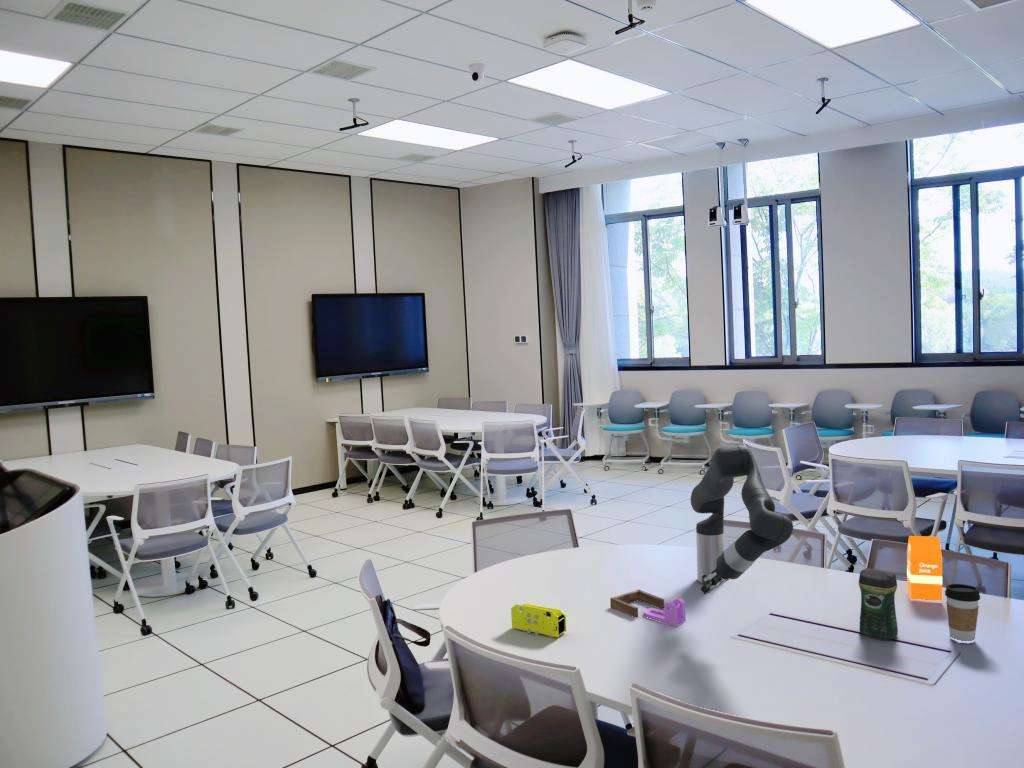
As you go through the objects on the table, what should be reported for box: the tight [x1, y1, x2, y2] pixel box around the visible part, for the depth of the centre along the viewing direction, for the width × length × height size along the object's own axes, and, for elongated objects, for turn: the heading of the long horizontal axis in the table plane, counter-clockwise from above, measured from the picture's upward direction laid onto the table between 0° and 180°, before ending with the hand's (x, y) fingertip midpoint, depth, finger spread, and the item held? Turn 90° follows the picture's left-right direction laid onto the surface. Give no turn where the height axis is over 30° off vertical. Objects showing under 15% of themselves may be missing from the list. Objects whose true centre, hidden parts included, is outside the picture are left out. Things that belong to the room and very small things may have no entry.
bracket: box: [643, 597, 687, 627], centre depth 236 cm, size 13×6×7 cm, turn 42°
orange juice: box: [906, 535, 943, 601], centre depth 244 cm, size 8×9×20 cm
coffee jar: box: [858, 567, 899, 641], centre depth 218 cm, size 10×8×19 cm
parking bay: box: [609, 589, 665, 618], centre depth 246 cm, size 12×12×3 cm
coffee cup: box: [944, 583, 981, 641], centre depth 212 cm, size 8×8×15 cm
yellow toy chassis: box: [510, 603, 567, 638], centre depth 230 cm, size 16×6×8 cm, turn 58°
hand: (703, 590), depth 222 cm, fingers closed
